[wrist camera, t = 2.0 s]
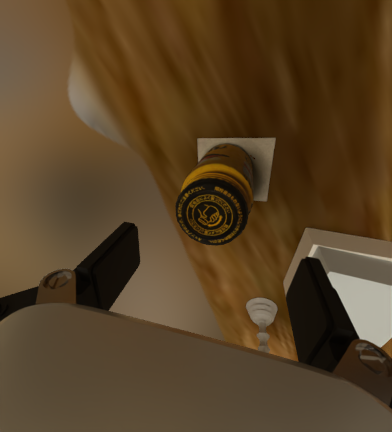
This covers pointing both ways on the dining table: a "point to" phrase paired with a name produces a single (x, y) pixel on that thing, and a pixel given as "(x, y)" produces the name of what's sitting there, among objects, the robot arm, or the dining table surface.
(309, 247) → the tower base
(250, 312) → the chalice
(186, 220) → the condiment
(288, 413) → the robot arm
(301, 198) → the dining table surface
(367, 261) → the tower top
